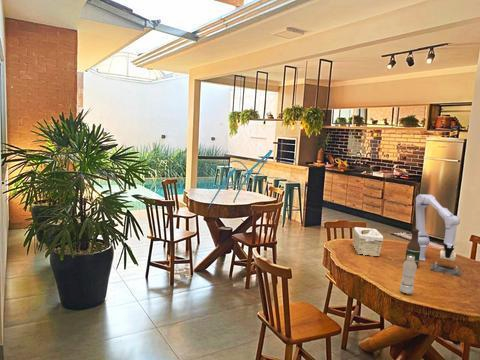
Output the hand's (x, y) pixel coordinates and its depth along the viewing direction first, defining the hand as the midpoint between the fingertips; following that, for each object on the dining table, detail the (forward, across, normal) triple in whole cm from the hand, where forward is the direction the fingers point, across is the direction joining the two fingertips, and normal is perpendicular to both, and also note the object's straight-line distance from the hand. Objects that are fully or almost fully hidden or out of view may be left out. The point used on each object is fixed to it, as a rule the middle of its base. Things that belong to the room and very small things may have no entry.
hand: (447, 256), depth 226 cm
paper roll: (+2, 0, 0) cm, 2 cm away
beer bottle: (+9, -6, +19) cm, 22 cm away
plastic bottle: (+9, -55, +18) cm, 58 cm away
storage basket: (+9, +7, +49) cm, 50 cm away
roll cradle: (+9, -1, 0) cm, 9 cm away
